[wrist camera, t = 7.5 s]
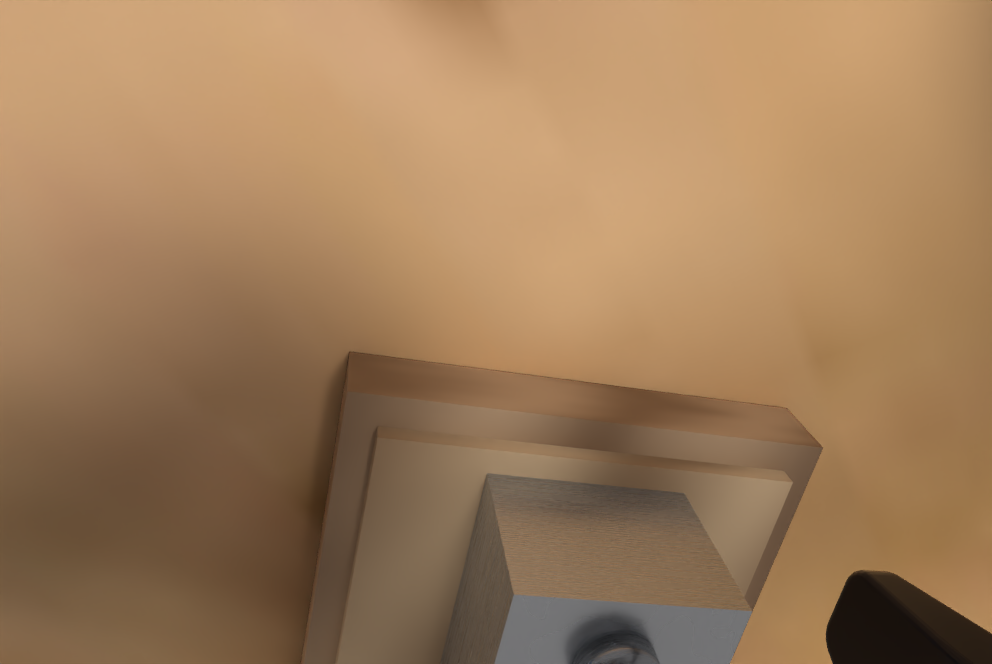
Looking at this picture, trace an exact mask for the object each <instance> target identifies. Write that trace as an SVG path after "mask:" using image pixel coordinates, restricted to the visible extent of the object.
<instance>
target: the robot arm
mask: <svg viewBox="0 0 992 664" xmlns="http://www.w3.org/2000/svg"><path fill="white" fill-rule="evenodd" d="M826 642H827V648H828V651H829V654H830V657H831V660H832V663H833V664H992V634H991V633H990V632H988V631H986V630H985V629H983V628H982V627H980V626H978V625H977V624H975V623H973V622H972V621H970V620H969V619H967V618H965V617H964V616H962V615H961V614H959V613H957V612H956V611H954V610H952V609H951V608H949V607H948V606H946V605H944V604H943V603H941V602H940V601H938V600H936V599H935V598H933V597H931V596H930V595H928V594H927V593H925V592H923V591H922V590H920V589H919V588H917V587H915V586H914V585H912V584H910V583H909V582H907V581H906V580H904V579H902V578H901V577H899V576H898V575H896V574H894V573H890V572H886V571H868V570H860V571H856V572H854V573H853V574H852V575H850V576H849V578H848V579H847V581H846V583H845V586H844V588H843V590H842V592H841V595H840V597H839V599H838V601H837V604H836V606H835V608H834V611H833V613H832V615H831V617H830V620H829V622H828V625H827V629H826Z"/></svg>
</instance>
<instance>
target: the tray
mask: <svg viewBox="0 0 992 664" xmlns="http://www.w3.org/2000/svg"><path fill="white" fill-rule="evenodd" d="M822 449H823V447H822V446H821V445H820V444H819V443H818V442H817V441H816V440H815V438H814V437H813V436H812V435H811V434H810V433H809V432H808V431H807V430H806V429H805V427H804V426H803V425H802V424H801V423H800V422H799V421H798V420H797V419H796V418H795V416H794V415H793V414H792V413H791V412H790V411H789V410H788V409H787V408H781V407H774V406H766V405H758V404H750V403H743V402H735V401H727V400H719V399H712V398H704V397H696V396H688V395H681V394H673V393H665V392H657V391H650V390H642V389H634V388H626V387H619V386H611V385H603V384H595V383H588V382H580V381H572V380H564V379H557V378H549V377H541V376H533V375H526V374H518V373H510V372H502V371H495V370H487V369H479V368H471V367H464V366H456V365H448V364H440V363H433V362H425V361H417V360H409V359H402V358H394V357H386V356H378V355H371V354H363V353H355V352H349V359H348V365H347V371H346V378H345V384H344V390H343V397H342V403H341V410H340V416H339V422H338V429H337V435H336V441H335V448H334V454H333V460H332V467H331V473H330V480H329V486H328V492H327V499H326V505H325V511H324V518H323V524H322V531H321V537H320V543H319V550H318V556H317V562H316V569H315V575H314V582H313V588H312V594H311V601H310V607H309V613H308V620H307V626H306V632H305V639H304V645H303V652H302V658H301V664H440V662H441V658H442V654H443V650H444V646H445V642H446V637H447V633H448V629H449V625H450V621H451V617H452V613H453V609H454V605H455V601H456V597H457V593H458V589H459V585H460V581H461V577H462V573H463V569H464V565H465V560H466V556H467V552H468V548H469V544H470V540H471V536H472V532H473V528H474V524H475V520H476V516H477V512H478V508H479V504H480V500H481V496H482V492H483V488H484V484H485V479H486V475H487V473H491V474H501V475H511V476H520V477H530V478H540V479H550V480H560V481H569V482H579V483H589V484H599V485H609V486H619V487H628V488H638V489H648V490H658V491H668V492H678V493H684V494H685V495H686V497H687V499H688V501H689V502H690V504H691V506H692V507H693V509H694V511H695V513H696V514H697V516H698V518H699V520H700V521H701V523H702V525H703V527H704V528H705V530H706V532H707V533H708V535H709V537H710V539H711V540H712V542H713V544H714V546H715V547H716V549H717V551H718V553H719V554H720V556H721V558H722V559H723V561H724V563H725V565H726V566H727V568H728V570H729V572H730V573H731V575H732V577H733V579H734V580H735V582H736V584H737V585H738V587H739V589H740V591H741V592H742V594H743V596H744V598H745V599H746V601H747V603H748V605H749V606H750V608H751V610H752V611H753V609H754V606H755V604H756V602H757V599H758V597H759V595H760V592H761V590H762V588H763V585H764V583H765V581H766V579H767V576H768V574H769V572H770V569H771V567H772V565H773V562H774V560H775V558H776V555H777V553H778V551H779V548H780V546H781V544H782V542H783V539H784V537H785V535H786V532H787V530H788V528H789V525H790V523H791V521H792V518H793V516H794V514H795V511H796V509H797V507H798V505H799V502H800V500H801V498H802V495H803V493H804V491H805V488H806V486H807V484H808V481H809V479H810V477H811V475H812V472H813V470H814V468H815V465H816V463H817V461H818V458H819V456H820V454H821V451H822Z"/></svg>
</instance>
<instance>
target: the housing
mask: <svg viewBox="0 0 992 664" xmlns="http://www.w3.org/2000/svg"><path fill="white" fill-rule="evenodd" d="M751 613H752V610H751V608H750V606H749V605H748V603H747V601H746V599H745V598H744V596H743V594H742V592H741V591H740V589H739V587H738V585H737V584H736V582H735V580H734V579H733V577H732V575H731V573H730V572H729V570H728V568H727V566H726V565H725V563H724V561H723V559H722V558H721V556H720V554H719V553H718V551H717V549H716V547H715V546H714V544H713V542H712V540H711V539H710V537H709V535H708V533H707V532H706V530H705V528H704V527H703V525H702V523H701V521H700V520H699V518H698V516H697V514H696V513H695V511H694V509H693V507H692V506H691V504H690V502H689V501H688V499H687V497H686V495H685V494H684V493H678V492H668V491H658V490H648V489H638V488H628V487H619V486H609V485H599V484H589V483H579V482H569V481H560V480H550V479H540V478H530V477H520V476H511V475H501V474H491V473H487V475H486V479H485V484H484V488H483V492H482V496H481V500H480V504H479V508H478V512H477V516H476V520H475V524H474V528H473V532H472V536H471V540H470V544H469V548H468V552H467V556H466V560H465V565H464V569H463V573H462V577H461V581H460V585H459V589H458V593H457V597H456V601H455V605H454V609H453V613H452V617H451V621H450V625H449V629H448V633H447V637H446V642H445V646H444V650H443V654H442V658H441V662H440V664H730V662H731V659H732V657H733V655H734V653H735V650H736V648H737V646H738V643H739V641H740V639H741V636H742V634H743V632H744V629H745V627H746V625H747V623H748V620H749V618H750V616H751Z"/></svg>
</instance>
